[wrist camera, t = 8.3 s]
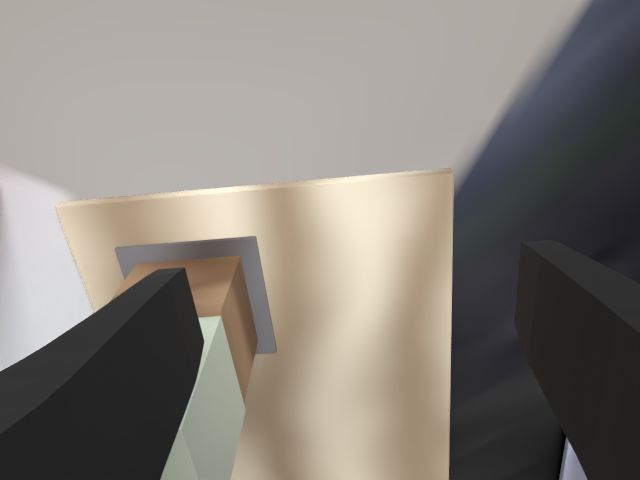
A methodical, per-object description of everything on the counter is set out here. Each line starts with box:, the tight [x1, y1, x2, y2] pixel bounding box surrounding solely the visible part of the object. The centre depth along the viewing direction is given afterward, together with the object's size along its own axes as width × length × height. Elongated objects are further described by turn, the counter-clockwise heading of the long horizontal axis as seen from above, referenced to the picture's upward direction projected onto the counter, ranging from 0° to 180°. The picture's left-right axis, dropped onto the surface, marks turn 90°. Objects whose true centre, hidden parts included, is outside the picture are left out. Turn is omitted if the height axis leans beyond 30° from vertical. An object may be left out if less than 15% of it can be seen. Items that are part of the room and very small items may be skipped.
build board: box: [55, 168, 454, 480], centre depth 25 cm, size 16×20×1 cm
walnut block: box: [110, 256, 258, 402], centre depth 21 cm, size 4×4×4 cm
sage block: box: [160, 316, 246, 480], centre depth 17 cm, size 4×4×5 cm
